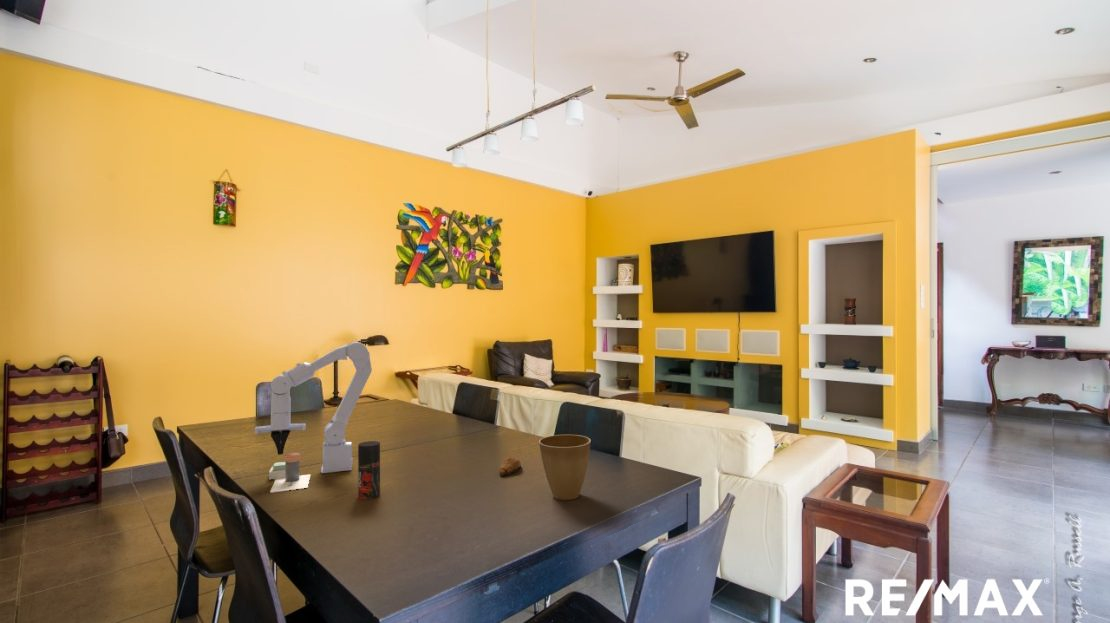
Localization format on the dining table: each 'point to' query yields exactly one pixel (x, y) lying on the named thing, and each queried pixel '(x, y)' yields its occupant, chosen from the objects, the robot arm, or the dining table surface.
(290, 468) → the grey and orange block
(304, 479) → the paper sheet
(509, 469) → the croissant
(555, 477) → the plant pot
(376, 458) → the deodorant
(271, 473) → the button housing
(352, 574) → the dining table surface
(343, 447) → the robot arm
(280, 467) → the button
